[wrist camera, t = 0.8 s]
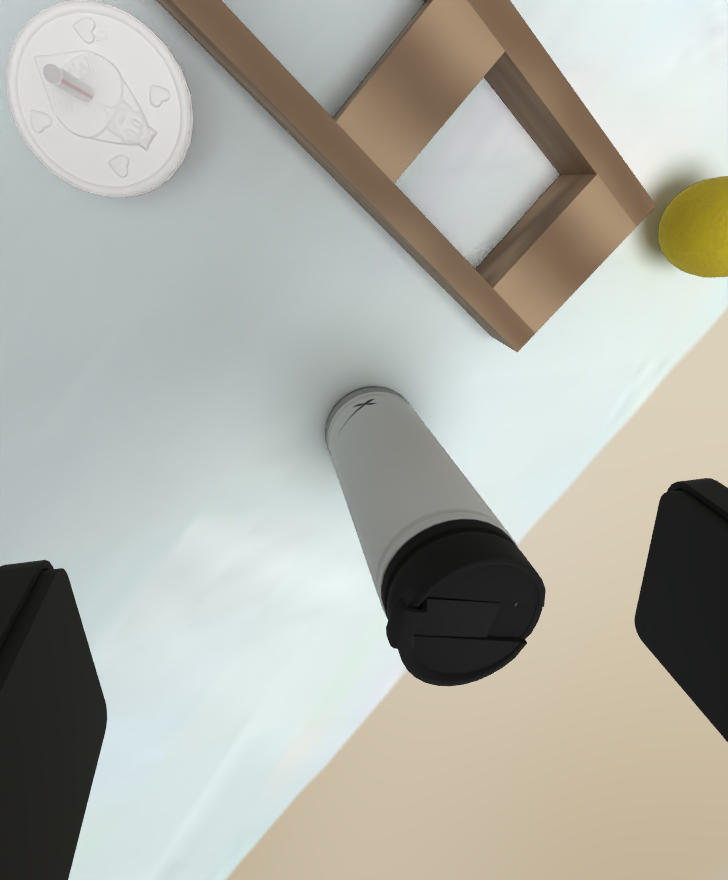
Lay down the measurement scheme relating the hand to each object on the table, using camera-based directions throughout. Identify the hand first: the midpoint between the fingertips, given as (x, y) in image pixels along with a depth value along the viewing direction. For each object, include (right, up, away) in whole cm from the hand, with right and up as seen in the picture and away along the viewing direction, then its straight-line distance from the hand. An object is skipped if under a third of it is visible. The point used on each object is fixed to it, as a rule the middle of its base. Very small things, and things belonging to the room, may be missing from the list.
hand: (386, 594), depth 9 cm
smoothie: (-12, +19, +21) cm, 31 cm away
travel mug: (0, +3, +30) cm, 31 cm away
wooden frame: (+2, +21, +23) cm, 31 cm away
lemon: (+20, +17, +29) cm, 39 cm away
